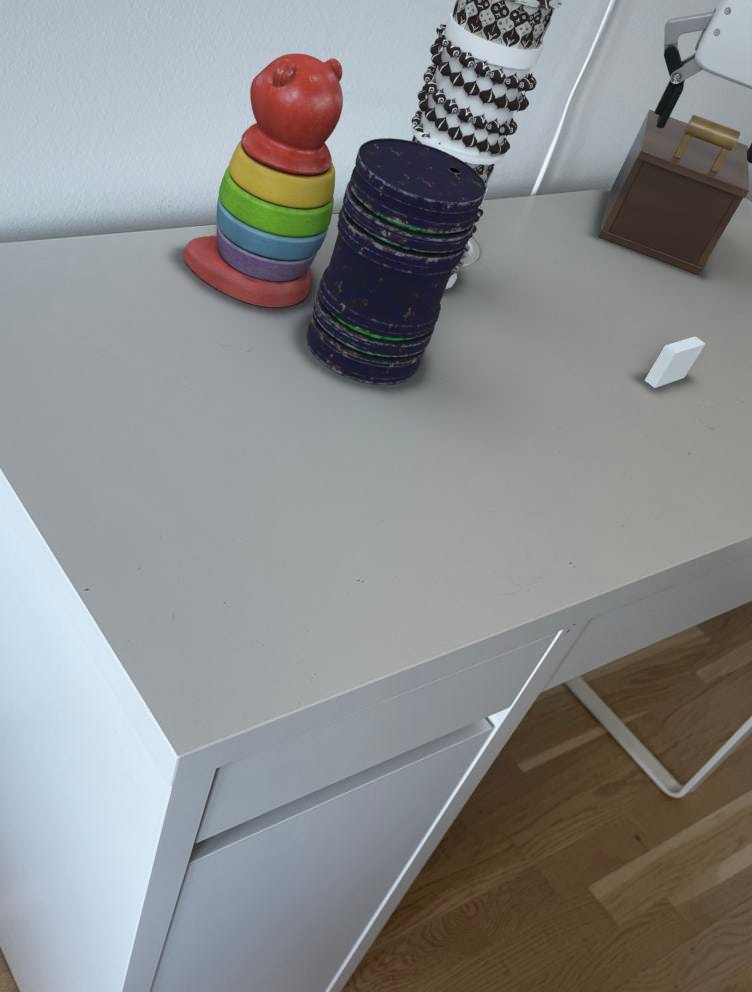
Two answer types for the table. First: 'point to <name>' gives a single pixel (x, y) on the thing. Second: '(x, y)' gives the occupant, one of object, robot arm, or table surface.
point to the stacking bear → (276, 187)
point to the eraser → (674, 361)
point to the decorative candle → (480, 82)
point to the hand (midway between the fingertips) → (704, 141)
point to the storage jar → (392, 259)
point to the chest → (665, 213)
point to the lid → (697, 152)
